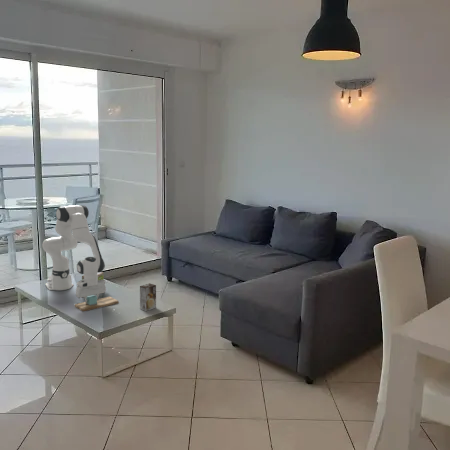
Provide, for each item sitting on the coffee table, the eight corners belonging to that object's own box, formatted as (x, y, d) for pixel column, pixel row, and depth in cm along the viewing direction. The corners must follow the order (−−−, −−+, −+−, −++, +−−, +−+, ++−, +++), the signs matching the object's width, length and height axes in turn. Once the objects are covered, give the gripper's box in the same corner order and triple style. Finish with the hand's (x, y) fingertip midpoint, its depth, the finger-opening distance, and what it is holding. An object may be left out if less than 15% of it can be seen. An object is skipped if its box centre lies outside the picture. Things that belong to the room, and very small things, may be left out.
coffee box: (149, 305, 310) (149, 283, 308) (156, 307, 307) (156, 285, 304) (139, 309, 303) (139, 286, 300) (146, 311, 299) (146, 288, 297)
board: (74, 306, 304) (74, 304, 303) (109, 298, 321) (109, 296, 321) (83, 311, 295) (83, 309, 295) (118, 303, 313) (118, 300, 313)
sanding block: (85, 303, 306) (85, 296, 305) (92, 301, 309) (92, 294, 308) (90, 305, 301) (89, 298, 301) (96, 304, 305) (96, 297, 304)
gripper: (102, 277, 312) (103, 297, 314) (74, 283, 298) (74, 303, 300) (107, 279, 307) (107, 299, 310) (78, 285, 294) (79, 305, 296)
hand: (91, 301), depth 305 cm, fingers closed on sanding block, 5 cm apart
